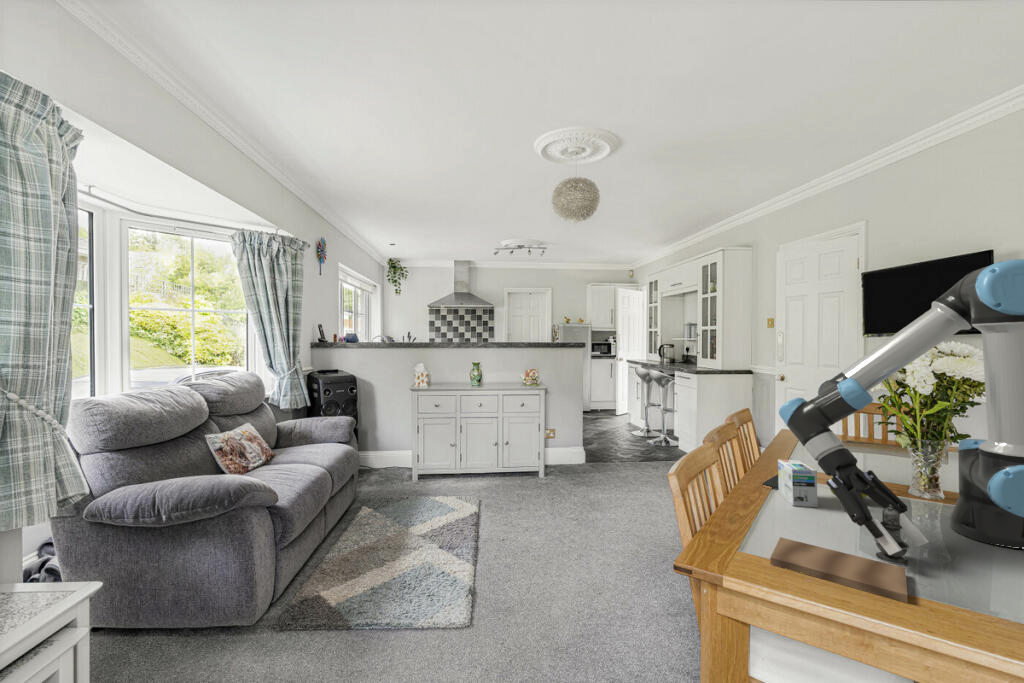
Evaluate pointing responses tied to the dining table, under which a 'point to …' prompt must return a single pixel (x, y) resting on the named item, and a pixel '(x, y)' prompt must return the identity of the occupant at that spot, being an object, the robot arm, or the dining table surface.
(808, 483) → the light bulb box
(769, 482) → the smart home device
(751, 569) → the dining table surface
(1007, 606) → the dining table surface
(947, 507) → the dining table surface
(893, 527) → the grey tall carved piece
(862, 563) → the walnut board
